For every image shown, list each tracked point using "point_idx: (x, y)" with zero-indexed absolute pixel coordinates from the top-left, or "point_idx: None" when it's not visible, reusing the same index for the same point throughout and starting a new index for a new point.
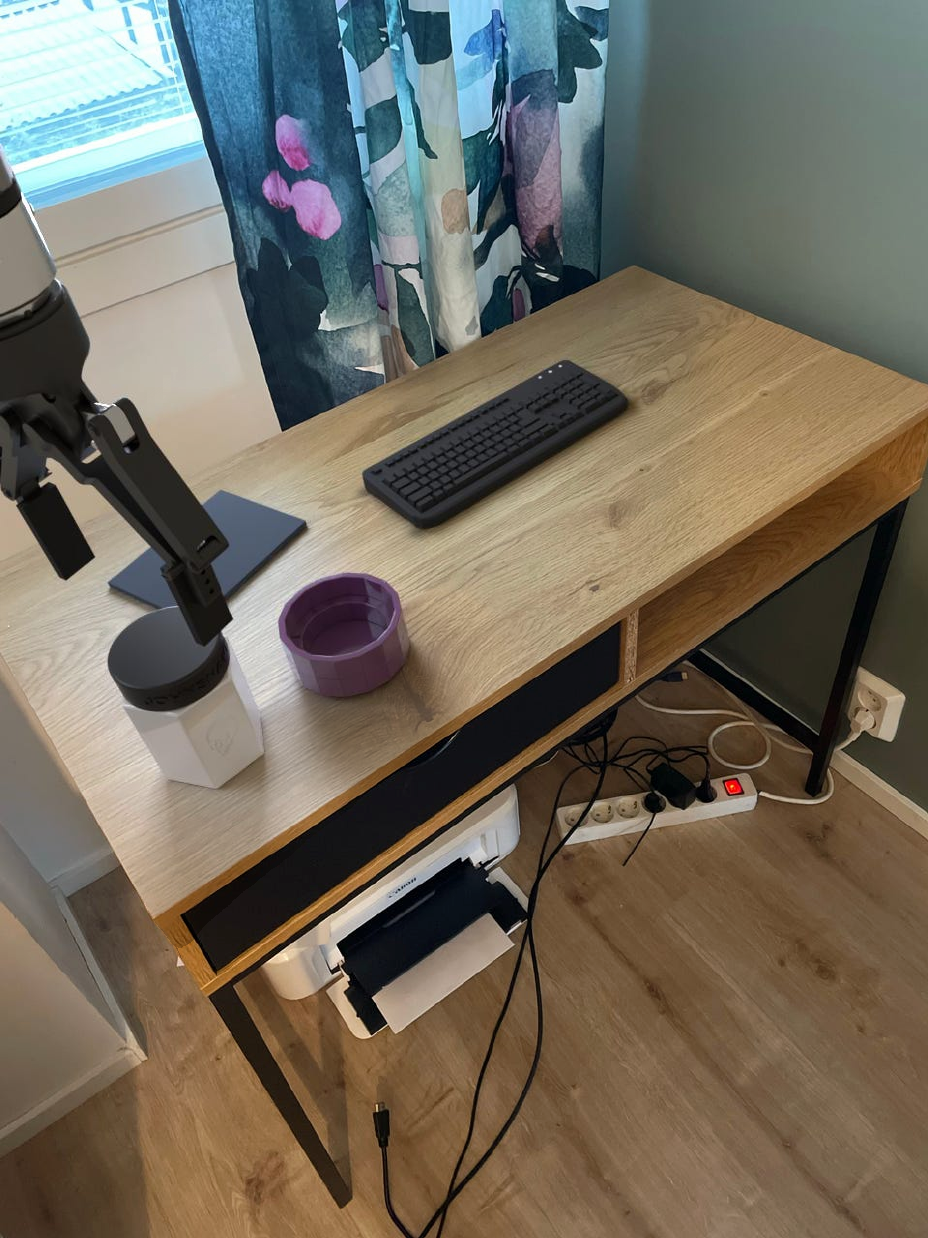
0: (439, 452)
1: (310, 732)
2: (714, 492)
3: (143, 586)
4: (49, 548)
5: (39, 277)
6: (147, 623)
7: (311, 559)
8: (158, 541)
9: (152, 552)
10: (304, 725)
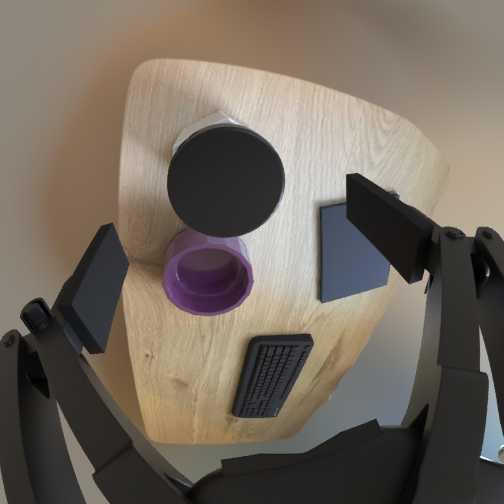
0: (284, 370)
1: None
2: (161, 402)
3: None
4: (372, 196)
5: None
6: (268, 191)
7: (296, 288)
8: (39, 356)
9: None
10: None
